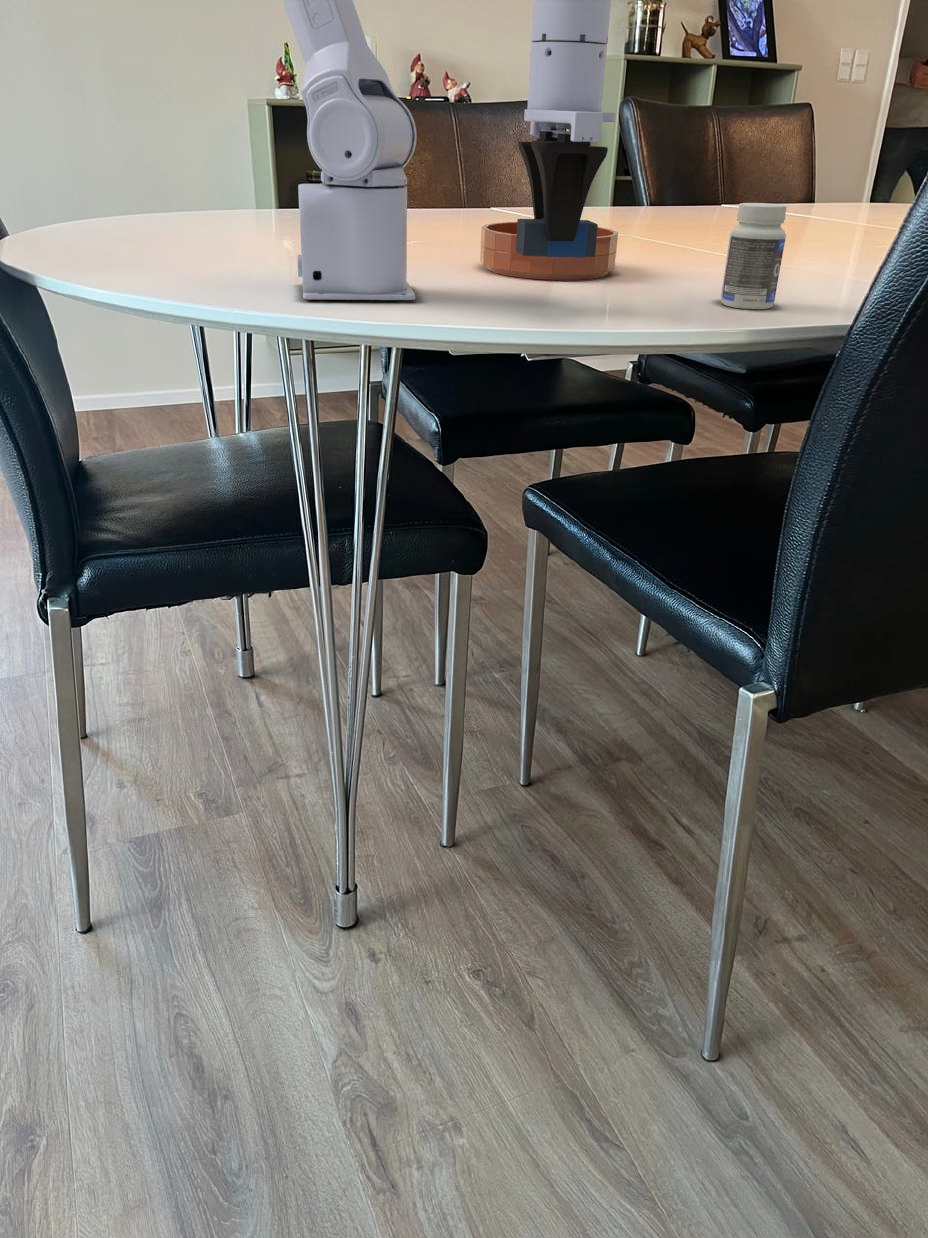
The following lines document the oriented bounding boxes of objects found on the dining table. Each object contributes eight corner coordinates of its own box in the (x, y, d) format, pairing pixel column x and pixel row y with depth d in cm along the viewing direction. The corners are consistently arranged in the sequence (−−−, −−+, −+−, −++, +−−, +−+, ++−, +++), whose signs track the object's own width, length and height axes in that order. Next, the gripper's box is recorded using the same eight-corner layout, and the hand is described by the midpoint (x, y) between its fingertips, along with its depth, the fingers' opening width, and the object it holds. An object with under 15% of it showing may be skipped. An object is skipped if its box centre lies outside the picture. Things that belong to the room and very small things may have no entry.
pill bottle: (779, 310, 84) (798, 207, 80) (726, 308, 84) (742, 205, 80) (765, 301, 89) (783, 202, 85) (714, 299, 89) (729, 200, 85)
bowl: (493, 280, 94) (495, 236, 92) (470, 259, 106) (472, 220, 104) (631, 281, 96) (635, 239, 94) (593, 261, 108) (596, 222, 106)
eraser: (523, 256, 77) (525, 221, 76) (515, 251, 80) (517, 217, 79) (595, 257, 78) (598, 223, 77) (585, 252, 81) (587, 219, 80)
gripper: (651, 41, 66) (629, 250, 73) (594, 50, 79) (579, 227, 85) (552, 36, 65) (538, 249, 72) (510, 46, 78) (501, 226, 84)
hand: (554, 237), depth 78 cm, fingers closed on eraser, 3 cm apart
